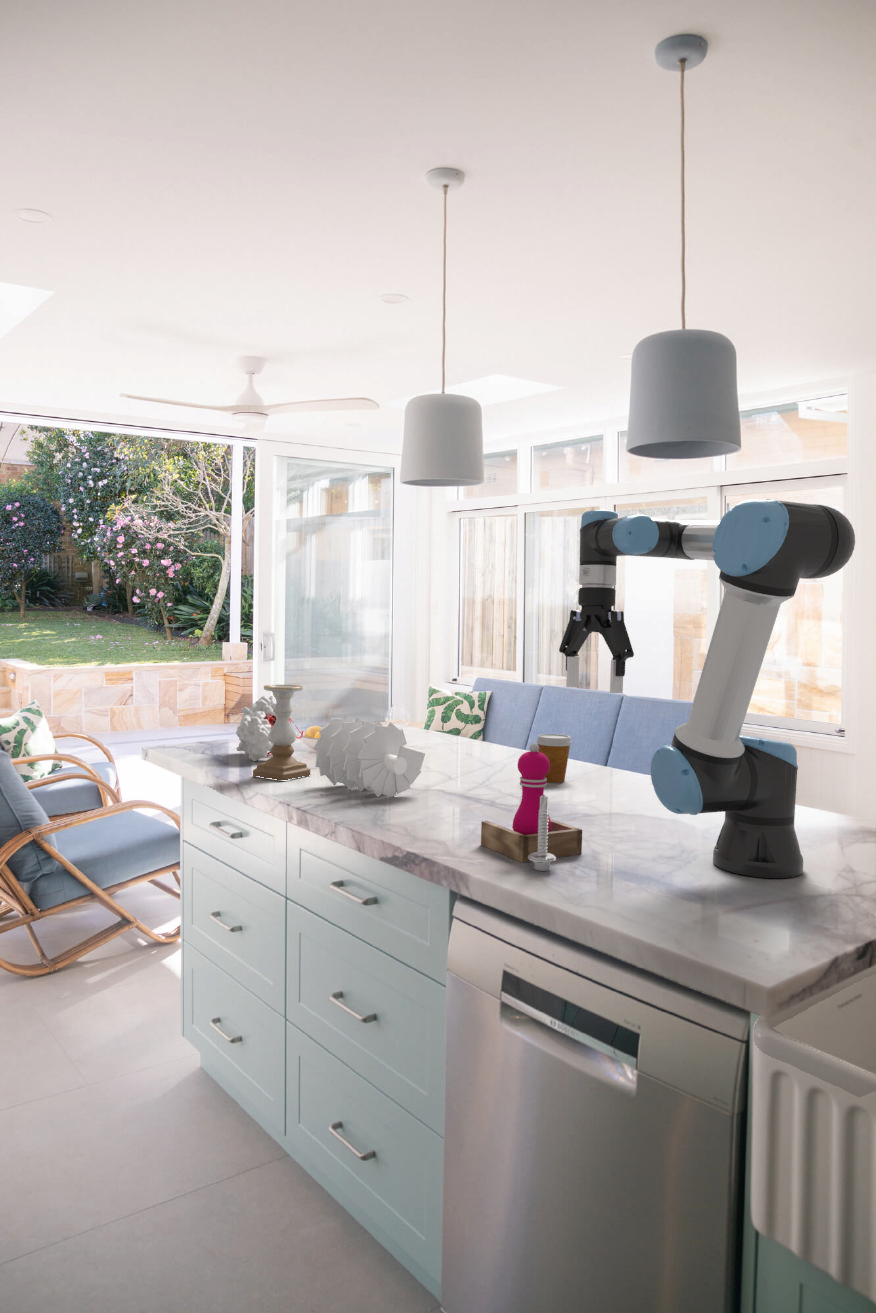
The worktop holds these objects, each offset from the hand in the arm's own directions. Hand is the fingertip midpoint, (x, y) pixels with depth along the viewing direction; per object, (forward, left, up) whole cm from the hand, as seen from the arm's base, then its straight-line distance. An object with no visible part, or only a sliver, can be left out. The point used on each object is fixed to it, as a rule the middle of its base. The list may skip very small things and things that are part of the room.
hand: (593, 690), depth 183 cm
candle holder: (+79, +38, -29) cm, 92 cm away
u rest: (-9, +22, -29) cm, 37 cm away
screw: (-20, +28, -29) cm, 45 cm away
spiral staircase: (+53, +26, -29) cm, 66 cm away
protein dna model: (+111, +31, -29) cm, 119 cm away
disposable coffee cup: (+46, -26, -29) cm, 61 cm away
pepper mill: (-9, +22, -29) cm, 37 cm away
